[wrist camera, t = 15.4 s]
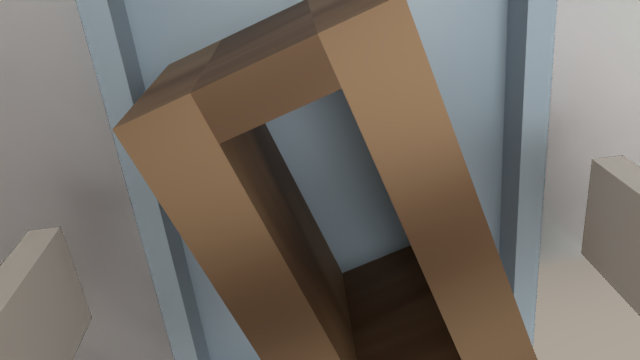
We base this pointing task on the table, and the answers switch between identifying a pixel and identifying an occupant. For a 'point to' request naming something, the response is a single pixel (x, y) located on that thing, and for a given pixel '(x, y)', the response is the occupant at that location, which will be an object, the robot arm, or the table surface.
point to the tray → (345, 141)
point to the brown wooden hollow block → (292, 210)
